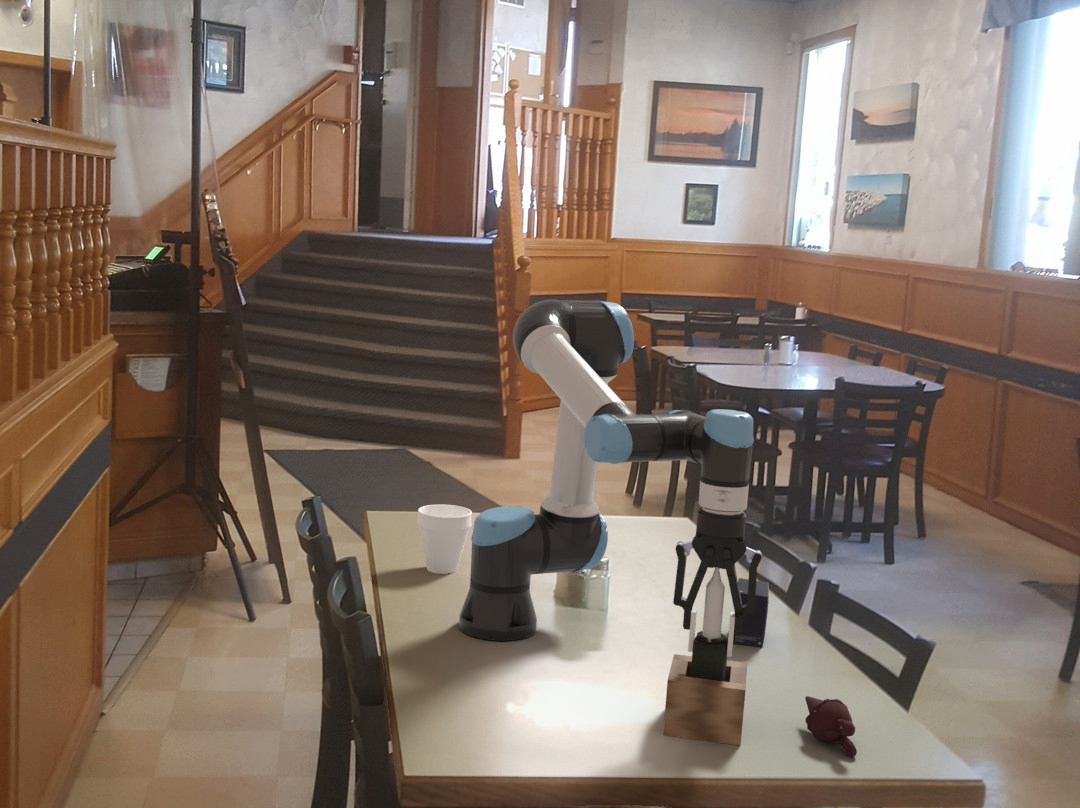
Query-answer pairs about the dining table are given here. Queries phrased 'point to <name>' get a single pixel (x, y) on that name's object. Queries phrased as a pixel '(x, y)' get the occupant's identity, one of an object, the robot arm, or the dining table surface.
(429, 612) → the dining table surface
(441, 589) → the dining table surface
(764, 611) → the small box
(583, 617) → the dining table surface
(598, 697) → the dining table surface
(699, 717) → the well block
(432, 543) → the cup
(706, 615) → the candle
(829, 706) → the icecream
